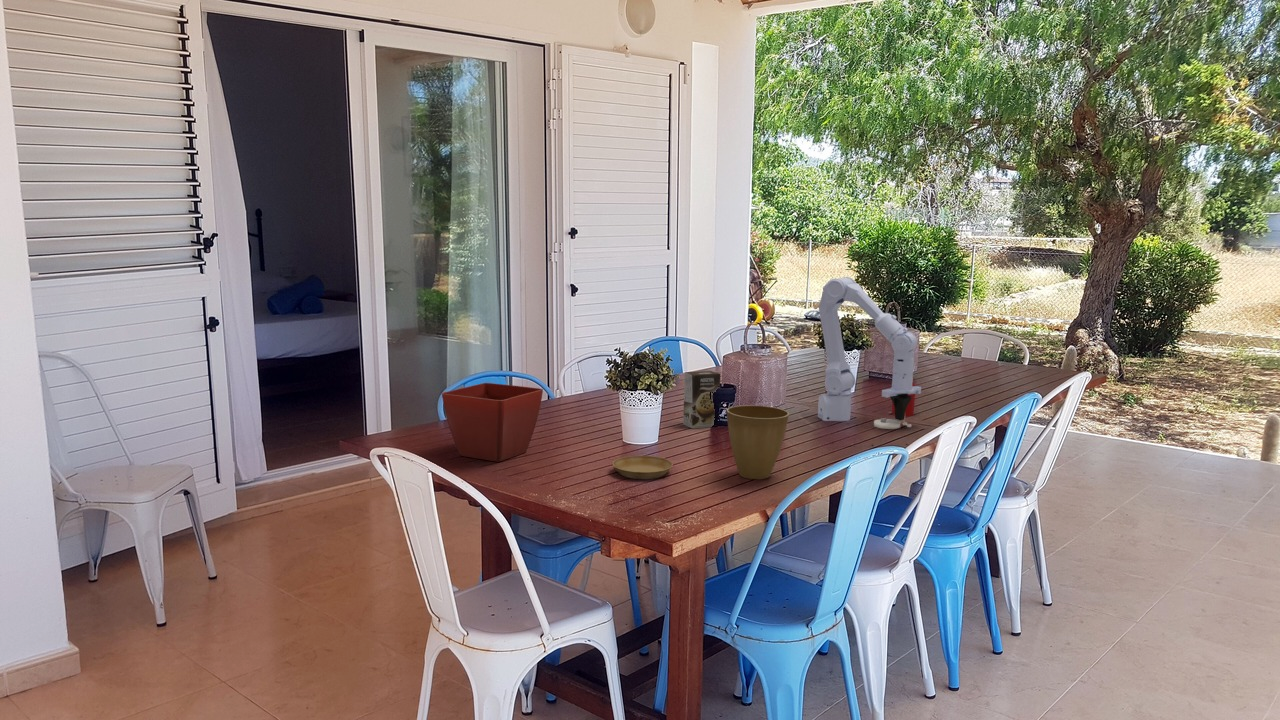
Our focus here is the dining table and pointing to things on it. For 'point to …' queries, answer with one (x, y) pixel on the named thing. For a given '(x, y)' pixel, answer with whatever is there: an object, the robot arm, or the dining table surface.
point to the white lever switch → (888, 423)
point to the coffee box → (700, 398)
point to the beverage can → (910, 407)
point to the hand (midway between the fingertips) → (899, 419)
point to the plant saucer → (642, 466)
